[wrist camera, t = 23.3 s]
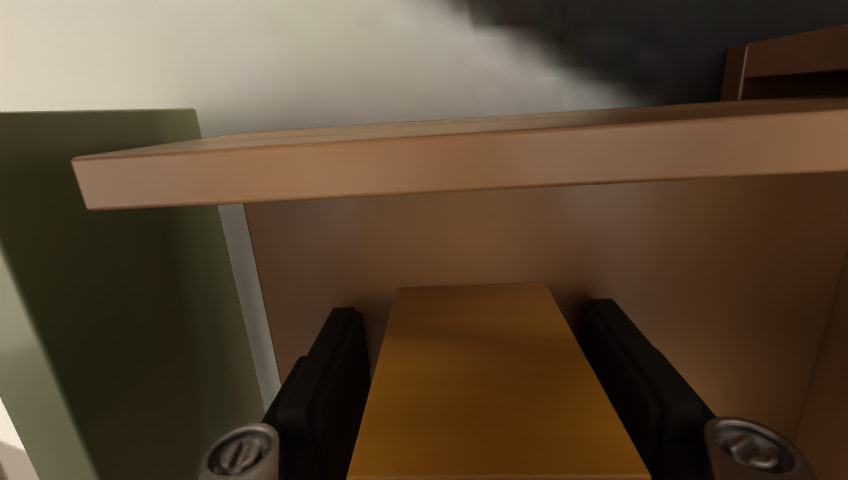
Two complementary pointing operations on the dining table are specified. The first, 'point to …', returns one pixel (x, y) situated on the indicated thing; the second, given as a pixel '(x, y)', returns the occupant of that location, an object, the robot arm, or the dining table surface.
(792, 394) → the drawer
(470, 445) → the block
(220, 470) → the robot arm
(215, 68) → the dining table surface
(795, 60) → the cabinet
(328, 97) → the dining table surface
